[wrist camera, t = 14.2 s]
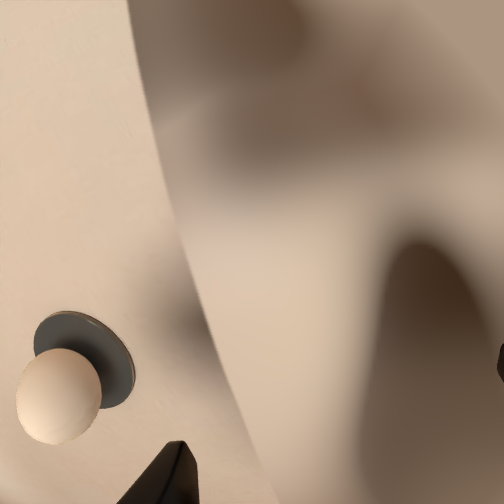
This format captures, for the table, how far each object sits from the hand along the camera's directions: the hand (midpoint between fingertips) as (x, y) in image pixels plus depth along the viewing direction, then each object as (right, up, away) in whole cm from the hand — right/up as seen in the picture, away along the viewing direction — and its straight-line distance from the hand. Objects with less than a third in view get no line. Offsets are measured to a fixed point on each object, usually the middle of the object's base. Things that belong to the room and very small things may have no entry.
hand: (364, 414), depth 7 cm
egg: (-15, -4, +12) cm, 19 cm away
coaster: (-15, -4, +13) cm, 20 cm away
